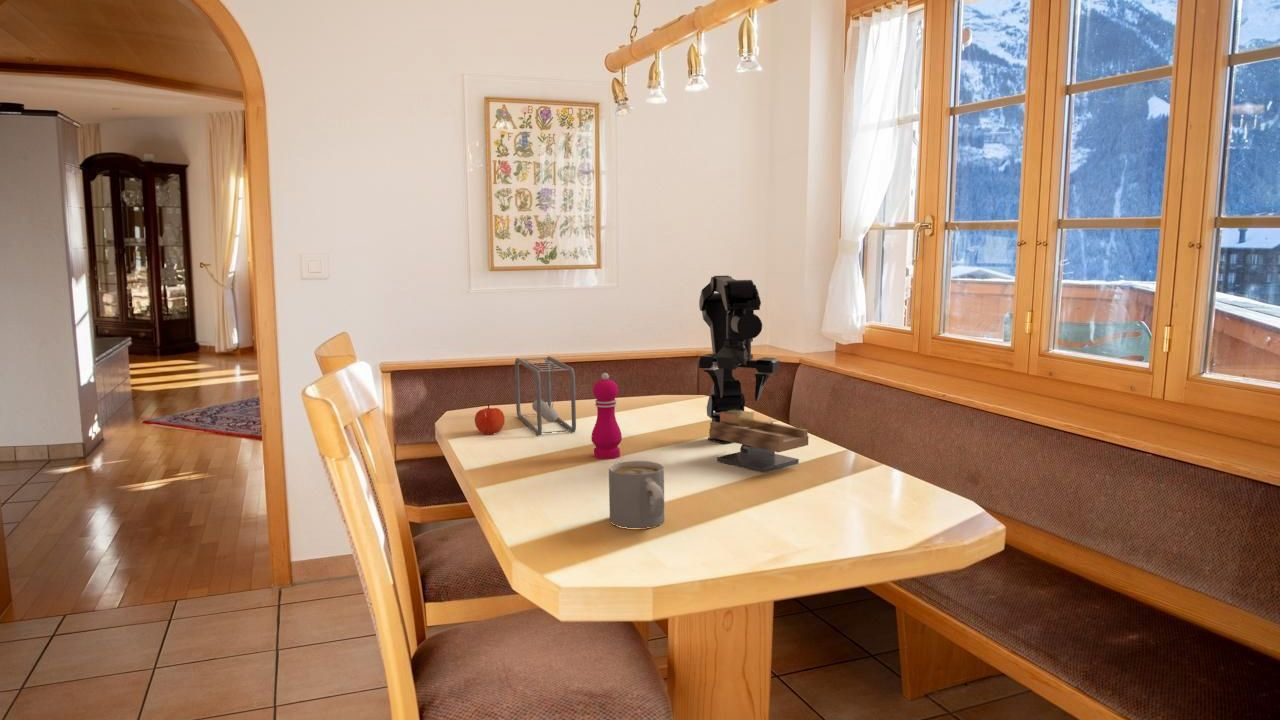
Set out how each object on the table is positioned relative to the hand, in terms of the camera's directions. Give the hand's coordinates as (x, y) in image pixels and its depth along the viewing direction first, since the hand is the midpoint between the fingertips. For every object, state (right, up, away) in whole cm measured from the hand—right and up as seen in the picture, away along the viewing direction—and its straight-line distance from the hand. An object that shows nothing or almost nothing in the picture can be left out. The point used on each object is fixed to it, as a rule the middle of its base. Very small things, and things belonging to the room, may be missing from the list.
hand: (738, 399), depth 205 cm
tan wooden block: (-1, -6, -3) cm, 7 cm away
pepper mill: (-31, -14, +2) cm, 34 cm away
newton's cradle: (-50, -9, +39) cm, 64 cm away
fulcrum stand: (+4, -14, -7) cm, 16 cm away
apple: (-64, -11, +29) cm, 71 cm away
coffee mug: (-23, -20, -49) cm, 58 cm away
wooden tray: (+3, -9, -8) cm, 12 cm away
